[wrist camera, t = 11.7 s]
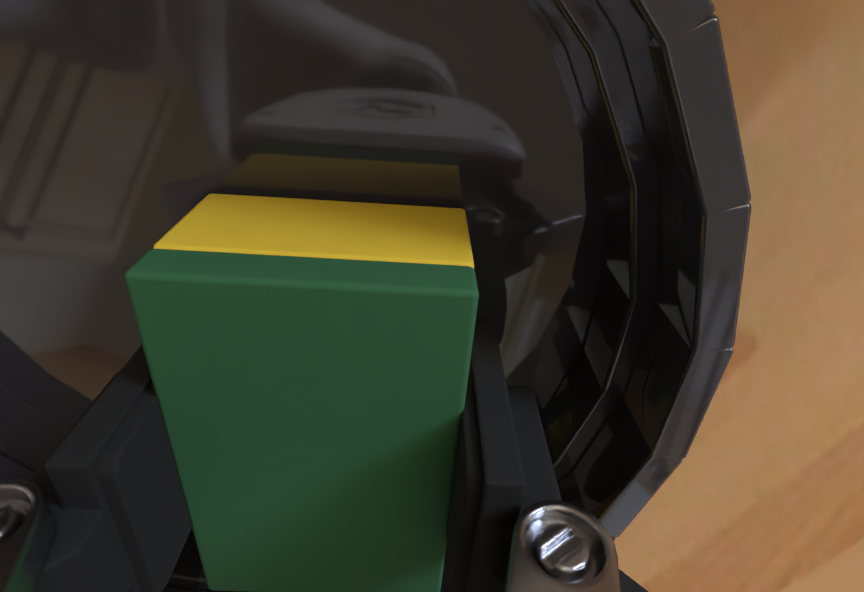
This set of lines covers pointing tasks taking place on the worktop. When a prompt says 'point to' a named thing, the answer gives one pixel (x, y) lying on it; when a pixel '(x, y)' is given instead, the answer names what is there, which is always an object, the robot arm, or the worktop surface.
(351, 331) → the sponge
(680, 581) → the worktop surface
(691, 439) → the pan
